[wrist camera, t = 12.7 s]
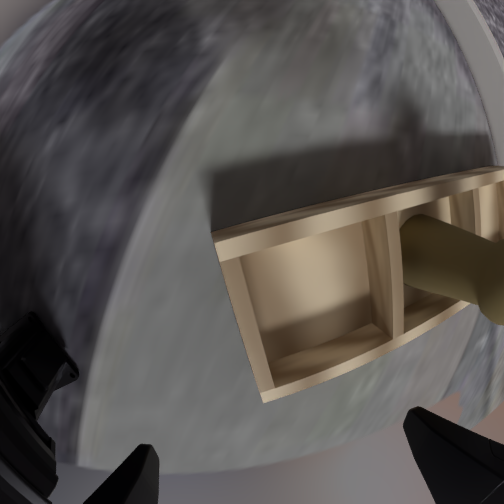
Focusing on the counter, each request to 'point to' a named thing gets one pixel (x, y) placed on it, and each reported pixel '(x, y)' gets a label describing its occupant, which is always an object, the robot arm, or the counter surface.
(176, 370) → the counter surface
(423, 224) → the olive pepper mill
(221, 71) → the counter surface
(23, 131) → the counter surface
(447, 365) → the counter surface
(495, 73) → the decorative molding
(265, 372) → the spice rack
